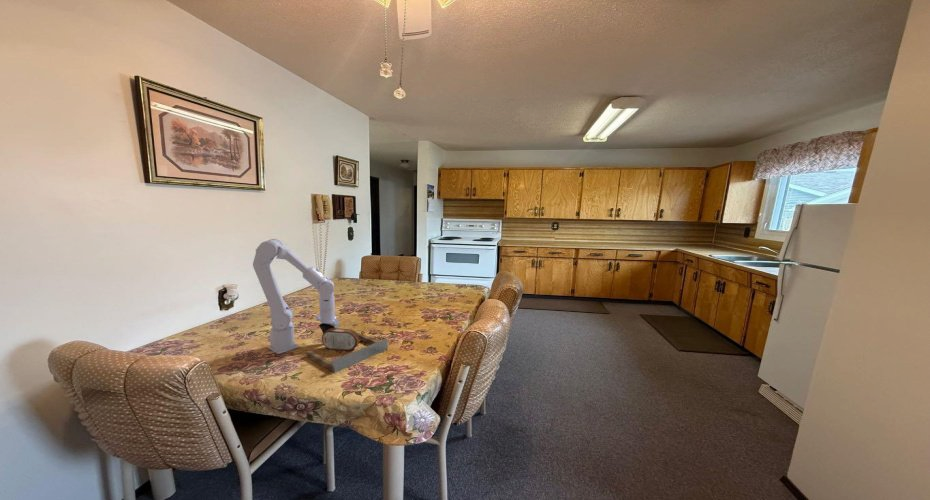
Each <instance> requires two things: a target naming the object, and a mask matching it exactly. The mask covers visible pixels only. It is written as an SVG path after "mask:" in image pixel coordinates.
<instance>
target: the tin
mask: <svg viewBox="0 0 930 500" xmlns="http://www.w3.org/2000/svg"><path fill="white" fill-rule="evenodd" d="M360 341H361V340H360V339H359V335H358V332H356V331H355V330H353V329H351V328H340V327H337V328H330V329H328V330H326V332H324V333H323V332H322V335H321V342H322V344H323V345H322V346H324V347H325V348H326V349H329V350H335V351H336V350H338V351H349V352H350V351H353V350H354V349H355V348H356V347H357V346H358V345H359V343H360Z"/></svg>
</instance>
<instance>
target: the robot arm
mask: <svg viewBox="0 0 930 500" xmlns="http://www.w3.org/2000/svg"><path fill="white" fill-rule="evenodd" d="M253 258H254V259H253V262H252V267H253V270H254V272H255V274H256V278H257V279H258V282H259V284H260V287H261V289H262V291H263V294H264V296H265V298H266V301H267V304H268V306H269V309H270V310H269V314H270V315H269V316H270V318H271V319H270V324H271V325H270V326H271V328H270V330H269V341H270V345H269V346H268V347H267V348H268V349H269V350H271V351H273V352H274V353H275V354H277V355H280V354H284V353H287V352H290V351H293V350H296V349H298V348H299V347H300V346H299V345H298V344H296V343H295V328H294V327H295V326H294V323H293V322H292V320H293V319H294V311H293V310H292V309H291V308H290V307H289V306H288V304H287V303H286V302H285V301H284V298H283V295H282V293H281V290H280V287H279V285H278V283H277V280H276V277H275V274H274V273H273V271H272V268H271V263H272V262H274V261H273V260H274V259H277V260H278V259H279V260H285V261H287V262H288V263H289V264H291V265H292V266H293V267H295V268H296V269H297V270H298V271H300V272H301V273H302V278H303V279H304V280H306V282H308V283H309V284H310V285H311V286H312V287H314V288H316V289H317V292H318V294H319V298H318V299H319V303H318V304H319V314H318V315H316V316H315V317H316V318H315V320H316V321H319V325H318V327H319V328H320V330H321V332H322V334H323V333H324V332H326V330H328V329H330V328H340V327H341V323H340V321H338V316H337V315H336V311H335V310H336V307H335V304H336V303H335V292H334V290H335V283H334V281H333V280H332V279H331V278H329V277H328V276H325V275H324V274H323V273H322V272H321V271H320V268H318V267H315V266H309V265H308V264H306V262H305V261H303V259H301V258H300V257H299V256H298V255H297V254H296V253H295V252H294V251H293V250H292V249H291V248H290V247H288V246H287V245H286V244H284V243H282V241H281V240H279V239H276V238H270V239H268V240H265V241H262V242H261V243H260V244H259V245H258V246H257V248H255V255H254V257H253Z"/></svg>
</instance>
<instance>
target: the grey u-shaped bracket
mask: <svg viewBox="0 0 930 500" xmlns="http://www.w3.org/2000/svg"><path fill="white" fill-rule="evenodd" d="M357 334H358V335H359V339H360V341H361V342H364V343H365V344H368V345H367V346H363V347H361V348H358V349H356V350H355V351H352V352H349V353H348V354H347V353H346V354H345V355H342V356H340V357H337V358H334V359H332V360H329V359H327V358H325V357H324V356H323V355H320V354H318V353H316V352H314V351H313V350H308V351H306V357H307V358H309V359H310V360H312V361H313V362H316V363H317V364H318V365H320V366H322V367H324V368H325V369H326V370H327V369H328V370H329V371H330V372H333V373H335V374H336V373H337V372H340V371H342V370H344V369H346V368H349V367H351V366H353V365H356V364H358V363H360V362H362V361H364V360H366V359H369V358H370V357H373V356H376V355H378V354H380V353H383V352H385V351H387V350H388V347H389V346H388V339H386V338H384V339H381V340H378V339H375V338H373V337H370V336H367V335H366V334H362V333H360V332H359V333H358V332H357Z"/></svg>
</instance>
